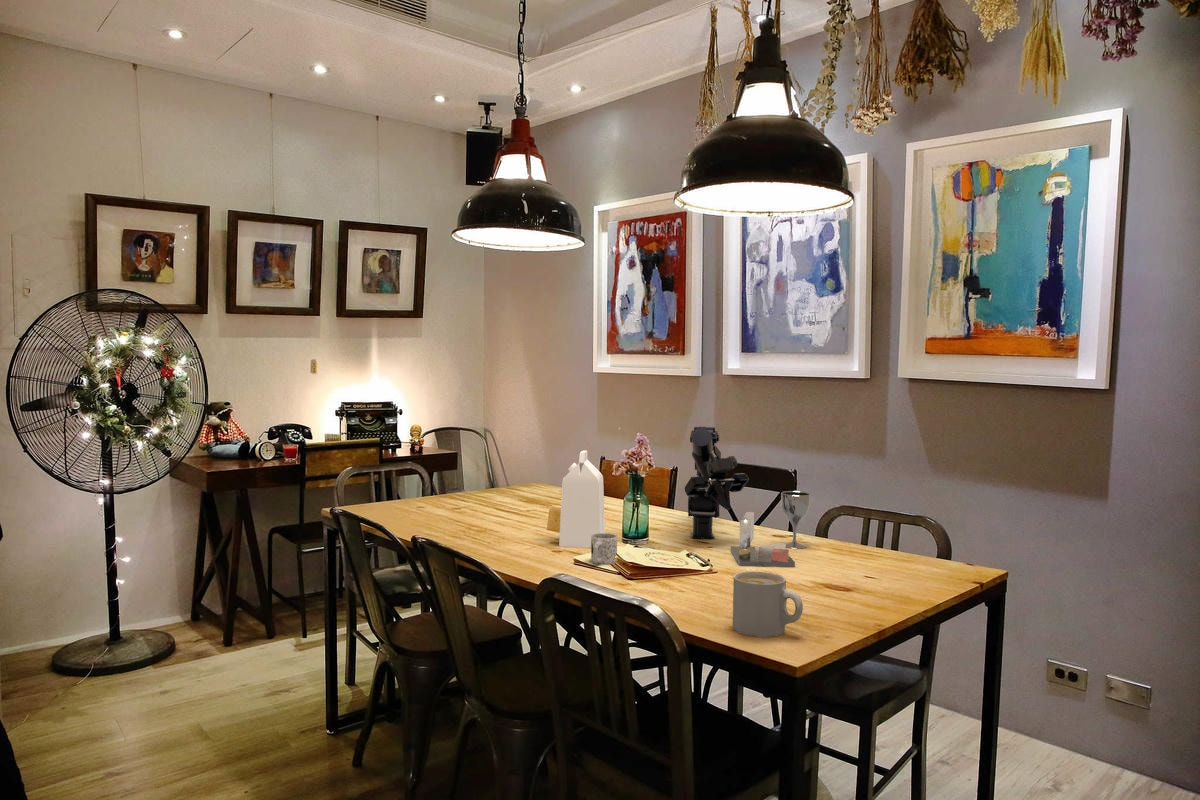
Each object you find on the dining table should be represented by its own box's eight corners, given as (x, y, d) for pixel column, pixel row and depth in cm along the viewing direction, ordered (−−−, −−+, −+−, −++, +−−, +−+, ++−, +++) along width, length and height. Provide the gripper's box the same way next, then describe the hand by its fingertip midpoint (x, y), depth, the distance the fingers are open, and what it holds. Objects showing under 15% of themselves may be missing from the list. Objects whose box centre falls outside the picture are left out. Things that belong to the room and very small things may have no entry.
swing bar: (749, 548, 210) (750, 520, 210) (738, 547, 211) (739, 520, 211) (755, 537, 223) (755, 512, 222) (744, 537, 224) (745, 511, 223)
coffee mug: (722, 628, 159) (723, 577, 158) (750, 617, 166) (751, 568, 165) (783, 645, 149) (784, 591, 149) (810, 632, 157) (811, 581, 156)
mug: (596, 557, 215) (596, 532, 215) (620, 559, 213) (620, 534, 213) (582, 566, 206) (582, 539, 206) (606, 568, 204) (607, 542, 203)
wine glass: (806, 543, 235) (807, 491, 235) (810, 549, 228) (812, 495, 227) (778, 542, 236) (779, 490, 236) (781, 548, 228) (783, 495, 228)
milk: (600, 548, 226) (601, 454, 225) (559, 546, 227) (560, 453, 226) (605, 539, 238) (606, 449, 237) (565, 537, 239) (566, 448, 238)
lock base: (730, 550, 225) (730, 537, 225) (781, 551, 225) (782, 538, 224) (739, 566, 208) (739, 552, 207) (795, 567, 207) (795, 553, 207)
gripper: (690, 448, 227) (712, 494, 217) (745, 445, 235) (769, 489, 226) (675, 472, 234) (695, 517, 225) (729, 468, 242) (751, 512, 233)
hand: (728, 508), depth 227 cm, fingers closed
